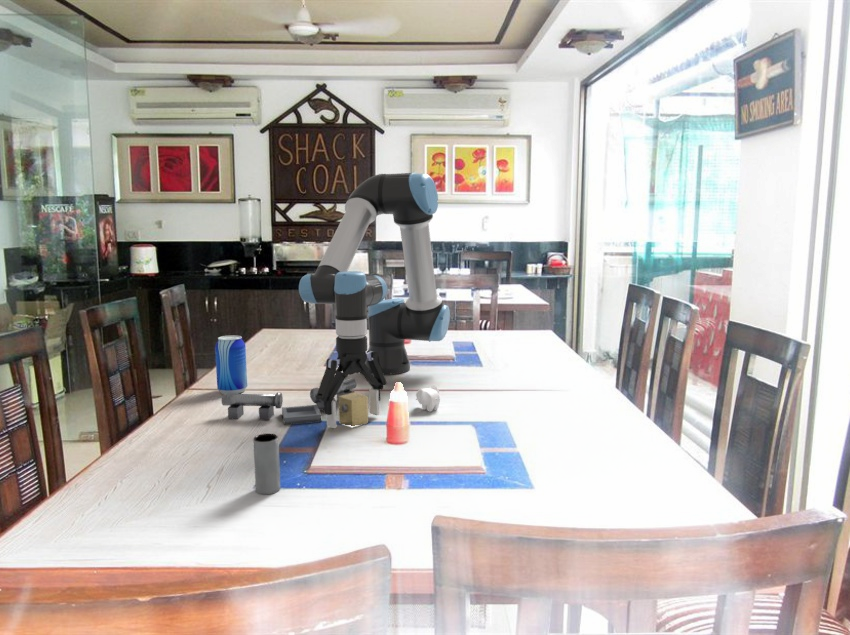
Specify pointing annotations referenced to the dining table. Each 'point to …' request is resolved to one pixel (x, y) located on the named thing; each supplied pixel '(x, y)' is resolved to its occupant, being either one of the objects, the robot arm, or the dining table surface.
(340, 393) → the shaft
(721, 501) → the dining table surface
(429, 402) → the elephant figurine
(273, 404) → the shaft
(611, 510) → the dining table surface
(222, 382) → the beer can
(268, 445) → the grey hollow tube
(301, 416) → the grey square tray
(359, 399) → the block
